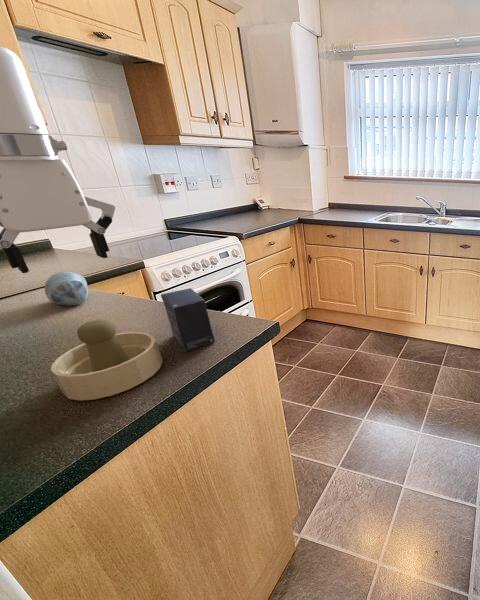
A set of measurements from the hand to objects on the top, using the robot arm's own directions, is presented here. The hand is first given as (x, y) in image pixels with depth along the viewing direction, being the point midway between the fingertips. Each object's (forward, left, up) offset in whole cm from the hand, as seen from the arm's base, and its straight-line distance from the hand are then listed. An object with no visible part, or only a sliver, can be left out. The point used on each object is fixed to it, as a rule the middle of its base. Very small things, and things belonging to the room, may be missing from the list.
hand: (65, 263), depth 55 cm
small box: (+13, +9, -23) cm, 28 cm away
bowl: (0, 0, -23) cm, 23 cm away
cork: (0, 0, -22) cm, 22 cm away
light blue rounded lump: (-22, +49, -23) cm, 58 cm away
